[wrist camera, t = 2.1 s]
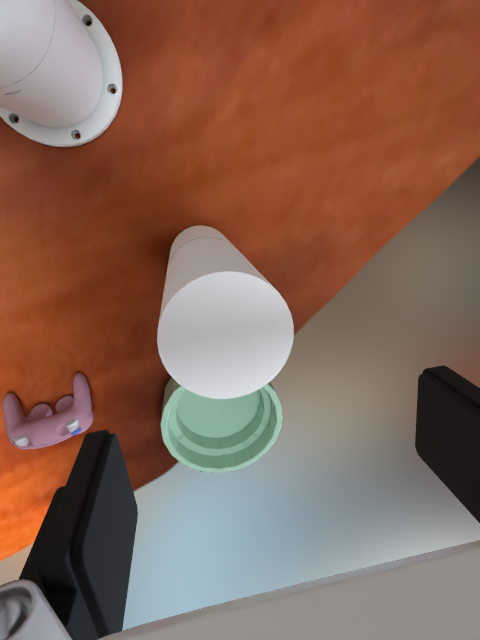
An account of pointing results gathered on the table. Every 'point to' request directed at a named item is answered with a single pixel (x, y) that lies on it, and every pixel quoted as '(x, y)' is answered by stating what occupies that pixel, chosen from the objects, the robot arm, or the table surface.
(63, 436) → the video game controller
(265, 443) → the bowl
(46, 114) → the robot arm
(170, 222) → the table surface
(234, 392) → the cylindrical container
